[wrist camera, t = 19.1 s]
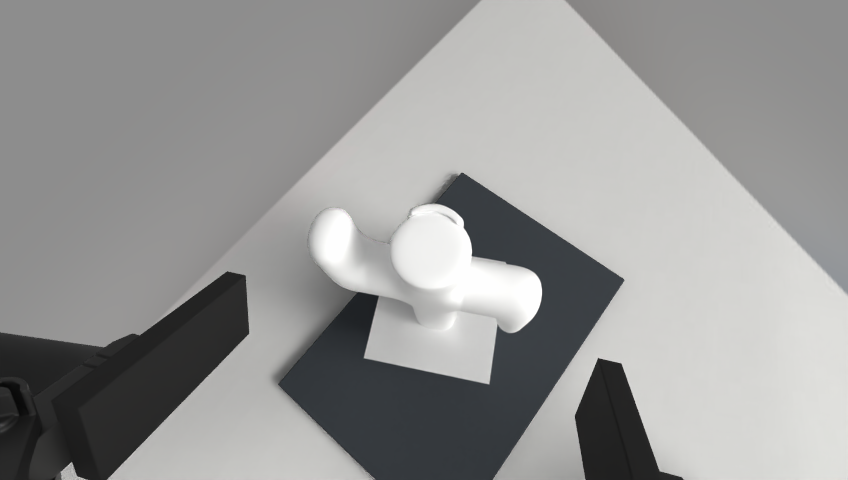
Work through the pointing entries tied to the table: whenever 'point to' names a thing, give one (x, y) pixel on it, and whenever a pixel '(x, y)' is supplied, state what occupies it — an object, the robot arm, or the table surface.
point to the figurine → (427, 290)
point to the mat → (445, 395)
